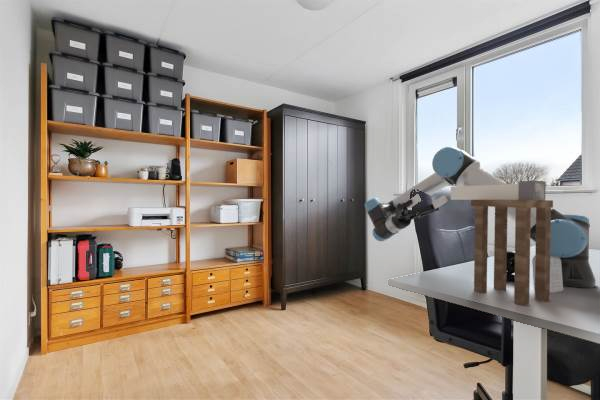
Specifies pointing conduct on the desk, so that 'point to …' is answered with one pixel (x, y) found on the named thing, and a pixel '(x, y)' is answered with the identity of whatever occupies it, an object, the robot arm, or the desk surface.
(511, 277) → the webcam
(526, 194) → the light grey bar
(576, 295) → the desk surface
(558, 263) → the photo printer
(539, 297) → the walnut stand
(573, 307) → the desk surface
